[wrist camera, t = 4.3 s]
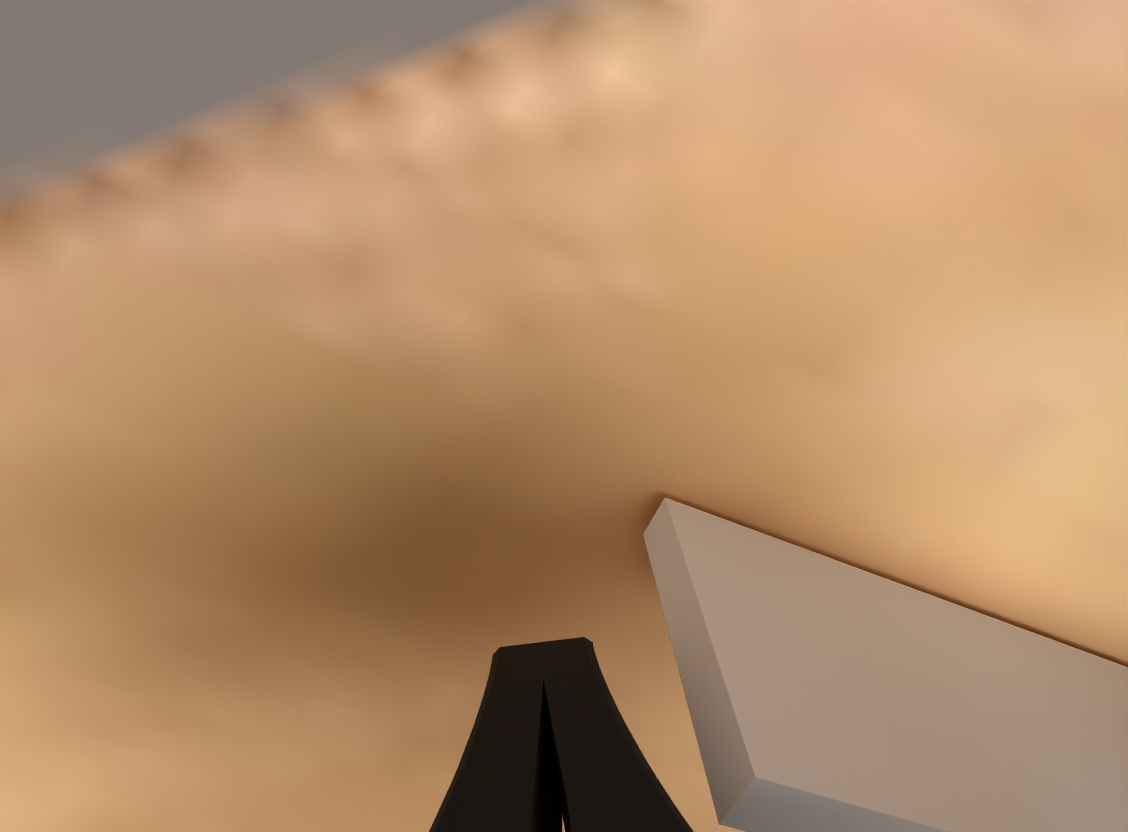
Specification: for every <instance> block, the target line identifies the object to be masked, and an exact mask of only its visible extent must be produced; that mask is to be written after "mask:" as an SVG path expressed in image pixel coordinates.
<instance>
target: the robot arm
mask: <svg viewBox="0 0 1128 832" xmlns="http://www.w3.org/2000/svg"><path fill="white" fill-rule="evenodd" d="M562 815H563V821H564V827H565V832H693V830H692V829H691V828H690V826H689V825H688V823H687V822H686V821H685V819H684V818H683V816H682V815H681V813H680V812H679V810H678V809H677V808H676V806H675V805H674V803H673V802H672V800H671V799H670V797H669V795H668V794H667V792H666V791H665V789H664V788H663V786H662V785H661V783H660V782H659V780H658V779H657V777H656V775H655V774H654V772H653V771H652V769H651V767H650V766H649V764H648V762H647V761H646V759H645V757H644V756H643V754H642V752H641V750H640V749H639V747H638V745H637V743H636V741H635V740H634V738H633V736H632V734H631V733H630V731H629V729H628V727H627V725H626V724H625V722H624V720H623V718H622V716H621V714H620V712H619V710H618V708H617V706H616V704H615V702H614V700H613V697H612V695H611V693H610V691H609V689H608V687H607V684H606V682H605V680H604V677H603V675H602V672H601V669H600V667H599V664H598V661H597V658H596V655H595V651H594V647H593V643H592V642H591V641H589V640H588V639H586V638H585V637H581V638H572V639H564V640H556V641H547V642H539V643H531V644H522V645H514V646H506V647H500V648H499V649H498V650H497V651H496V652H495V653H494V654H493V658H492V664H491V669H490V673H489V677H488V681H487V685H486V689H485V692H484V696H483V699H482V702H481V705H480V708H479V711H478V714H477V717H476V720H475V724H474V726H473V729H472V732H471V734H470V737H469V740H468V742H467V745H466V747H465V750H464V753H463V755H462V758H461V761H460V763H459V766H458V768H457V771H456V773H455V776H454V778H453V780H452V783H451V785H450V787H449V789H448V791H447V794H446V796H445V798H444V800H443V802H442V805H441V807H440V809H439V811H438V813H437V816H436V818H435V820H434V822H433V824H432V827H431V829H430V831H429V832H562Z"/></svg>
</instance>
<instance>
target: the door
mask: <svg viewBox="0 0 1128 832" xmlns="http://www.w3.org/2000/svg"><path fill="white" fill-rule="evenodd" d="M643 536H644V540H645V544H646V548H647V551H648V555H649V559H650V563H651V567H652V570H653V574H654V578H655V582H656V586H657V589H658V593H659V597H660V601H661V605H662V608H663V612H664V616H665V620H666V624H667V627H668V631H669V635H670V639H671V643H672V647H673V650H674V654H675V658H676V662H677V666H678V669H679V673H680V677H681V681H682V685H683V688H684V692H685V696H686V700H687V704H688V707H689V711H690V715H691V719H692V723H693V726H694V730H695V734H696V738H697V742H698V745H699V749H700V753H701V757H702V761H703V764H704V768H705V772H706V776H707V780H708V784H709V787H710V791H711V795H712V799H713V803H714V806H715V810H716V814H717V818H718V822H719V824H720V825H724V826H728V827H732V828H735V829H739V830H743V831H747V832H1128V667H1126V666H1123V665H1120V664H1118V663H1115V662H1112V661H1109V660H1107V659H1104V658H1101V657H1099V656H1096V655H1093V654H1090V653H1088V652H1085V651H1082V650H1080V649H1077V648H1074V647H1071V646H1069V645H1066V644H1063V643H1060V642H1058V641H1055V640H1052V639H1050V638H1047V637H1044V636H1041V635H1039V634H1036V633H1033V632H1030V631H1028V630H1025V629H1022V628H1020V627H1017V626H1014V625H1011V624H1009V623H1006V622H1003V621H1001V620H998V619H995V618H992V617H990V616H987V615H984V614H981V613H979V612H976V611H973V610H971V609H968V608H965V607H962V606H960V605H957V604H954V603H951V602H949V601H946V600H943V599H941V598H938V597H935V596H932V595H930V594H927V593H924V592H922V591H919V590H916V589H913V588H911V587H908V586H905V585H902V584H900V583H897V582H894V581H892V580H889V579H886V578H883V577H881V576H878V575H875V574H873V573H870V572H867V571H864V570H862V569H859V568H856V567H853V566H851V565H848V564H845V563H843V562H840V561H837V560H834V559H832V558H829V557H826V556H823V555H821V554H818V553H815V552H813V551H810V550H807V549H804V548H802V547H799V546H796V545H794V544H791V543H788V542H785V541H783V540H780V539H777V538H774V537H772V536H769V535H766V534H764V533H761V532H758V531H755V530H753V529H750V528H747V527H744V526H742V525H739V524H736V523H734V522H731V521H728V520H725V519H723V518H720V517H717V516H715V515H712V514H709V513H706V512H704V511H701V510H698V509H695V508H693V507H690V506H687V505H685V504H682V503H679V502H676V501H674V500H671V499H668V498H664V500H663V501H662V503H661V505H660V506H659V508H658V510H657V512H656V513H655V515H654V517H653V518H652V520H651V522H650V523H649V525H648V527H647V528H646V530H645V532H644V533H643Z"/></svg>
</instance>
